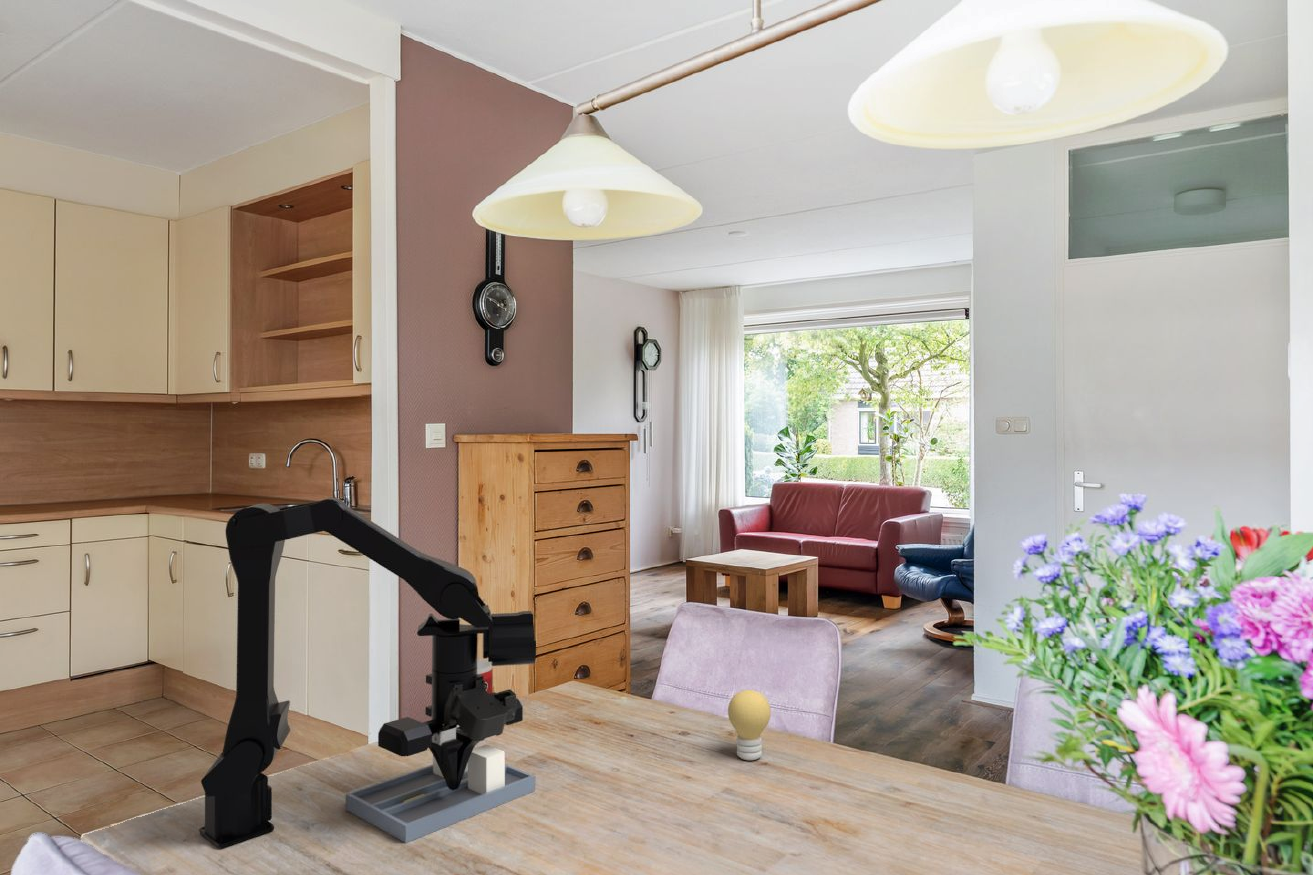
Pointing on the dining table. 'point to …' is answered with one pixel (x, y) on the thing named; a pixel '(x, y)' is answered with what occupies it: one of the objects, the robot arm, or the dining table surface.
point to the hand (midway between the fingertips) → (453, 788)
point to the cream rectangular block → (486, 769)
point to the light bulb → (749, 722)
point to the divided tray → (429, 801)
